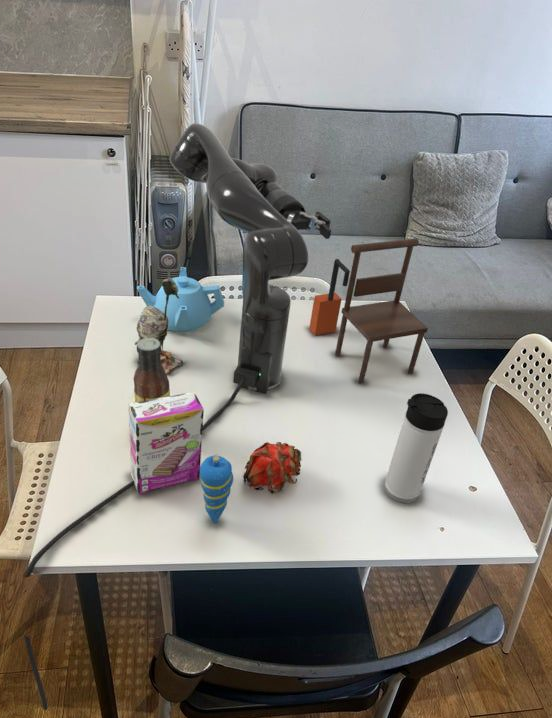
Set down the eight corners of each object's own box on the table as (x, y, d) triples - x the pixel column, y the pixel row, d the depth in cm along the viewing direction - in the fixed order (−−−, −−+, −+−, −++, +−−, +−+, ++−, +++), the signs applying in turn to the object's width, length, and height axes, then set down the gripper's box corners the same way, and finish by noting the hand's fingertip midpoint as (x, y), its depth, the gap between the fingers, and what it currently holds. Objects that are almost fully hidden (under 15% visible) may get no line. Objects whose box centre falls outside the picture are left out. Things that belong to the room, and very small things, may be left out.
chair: (416, 373, 141) (449, 263, 124) (356, 385, 136) (383, 271, 119) (388, 344, 149) (415, 236, 132) (330, 353, 144) (351, 243, 127)
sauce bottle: (176, 427, 120) (177, 339, 108) (162, 447, 116) (161, 358, 103) (145, 417, 122) (142, 329, 110) (130, 437, 117) (125, 348, 105)
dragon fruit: (302, 477, 115) (247, 508, 110) (279, 435, 116) (223, 465, 111) (320, 469, 107) (262, 503, 103) (296, 425, 108) (237, 456, 103)
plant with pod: (155, 343, 142) (153, 261, 129) (188, 366, 136) (190, 282, 124) (125, 356, 137) (120, 272, 125) (158, 380, 131) (157, 295, 119)
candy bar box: (138, 496, 106) (135, 422, 96) (130, 476, 110) (126, 402, 99) (201, 480, 110) (205, 407, 100) (192, 461, 114) (194, 389, 103)
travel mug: (378, 477, 114) (403, 389, 102) (413, 477, 115) (443, 390, 102) (386, 503, 109) (414, 415, 97) (423, 503, 110) (456, 415, 98)
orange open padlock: (344, 343, 148) (360, 268, 136) (324, 346, 146) (337, 271, 134) (329, 325, 154) (342, 252, 142) (309, 328, 152) (321, 255, 140)
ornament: (225, 537, 101) (230, 470, 92) (193, 530, 101) (196, 463, 92) (232, 513, 105) (238, 447, 96) (202, 507, 106) (205, 440, 96)
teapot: (180, 345, 142) (181, 303, 135) (135, 318, 149) (134, 277, 142) (227, 320, 152) (229, 280, 145) (182, 296, 159) (183, 257, 152)
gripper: (307, 221, 164) (336, 248, 153) (256, 225, 159) (282, 254, 148) (311, 192, 159) (342, 218, 148) (259, 196, 154) (286, 224, 143)
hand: (312, 236), depth 148 cm, fingers open, 8 cm apart
